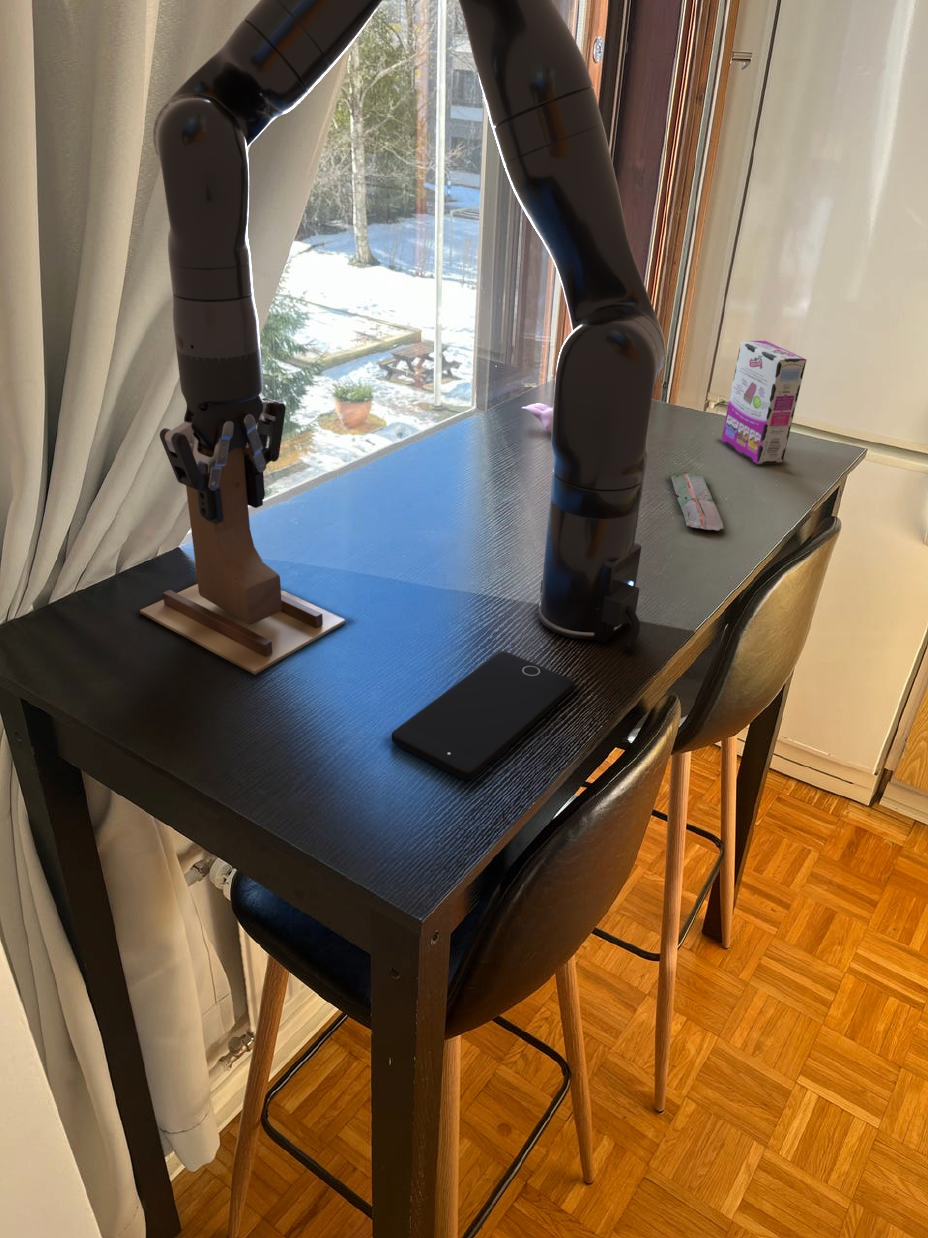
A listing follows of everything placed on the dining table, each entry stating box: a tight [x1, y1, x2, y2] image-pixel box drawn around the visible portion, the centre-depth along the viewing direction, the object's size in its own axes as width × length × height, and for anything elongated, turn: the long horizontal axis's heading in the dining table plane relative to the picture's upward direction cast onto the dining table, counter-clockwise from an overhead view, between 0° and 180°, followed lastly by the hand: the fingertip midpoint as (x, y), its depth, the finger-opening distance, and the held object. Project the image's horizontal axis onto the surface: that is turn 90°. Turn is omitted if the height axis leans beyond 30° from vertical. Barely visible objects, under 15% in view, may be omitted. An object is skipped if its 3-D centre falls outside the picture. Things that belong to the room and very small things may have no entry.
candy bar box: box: [721, 340, 807, 466], centre depth 147 cm, size 11×5×16 cm, turn 17°
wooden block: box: [185, 435, 282, 625], centre depth 97 cm, size 9×4×18 cm, turn 48°
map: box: [670, 471, 724, 531], centre depth 133 cm, size 5×20×1 cm, turn 176°
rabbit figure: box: [521, 402, 553, 434], centre depth 153 cm, size 6×6×15 cm
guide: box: [139, 583, 346, 675], centre depth 102 cm, size 18×13×2 cm
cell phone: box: [391, 650, 576, 781], centre depth 89 cm, size 9×18×1 cm, turn 144°
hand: (234, 512), depth 96 cm, fingers closed on wooden block, 4 cm apart
